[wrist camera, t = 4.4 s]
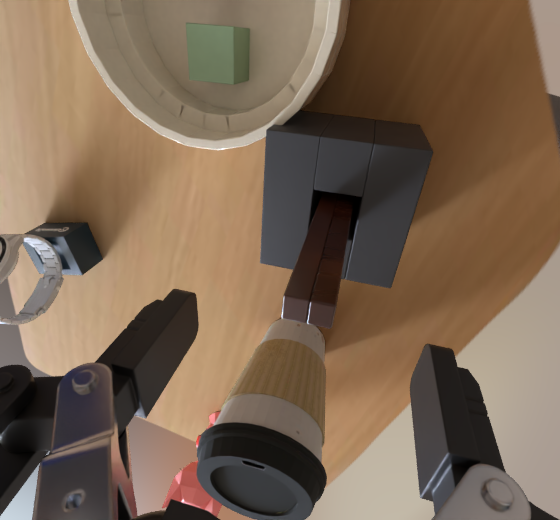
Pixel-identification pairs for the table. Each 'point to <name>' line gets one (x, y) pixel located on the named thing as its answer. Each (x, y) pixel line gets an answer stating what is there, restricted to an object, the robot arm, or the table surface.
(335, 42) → the bowl
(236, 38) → the sage block
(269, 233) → the stand
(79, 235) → the watch
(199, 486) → the cat figurine
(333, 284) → the chopsticks
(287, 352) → the coffee cup
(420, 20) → the table surface
